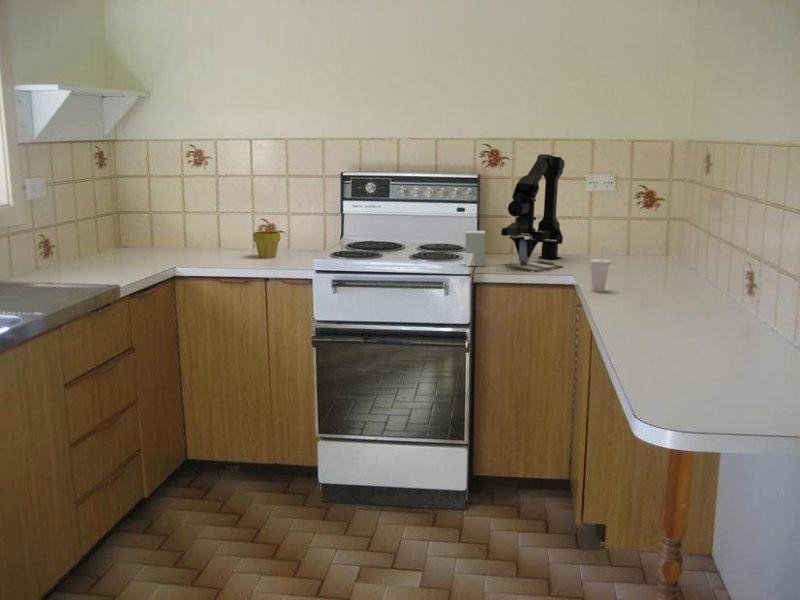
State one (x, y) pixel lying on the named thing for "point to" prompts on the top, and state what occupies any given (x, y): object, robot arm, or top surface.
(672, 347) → the top surface
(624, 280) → the top surface
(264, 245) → the plant pot
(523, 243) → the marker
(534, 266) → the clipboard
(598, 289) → the smoothie
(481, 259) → the supplement box
